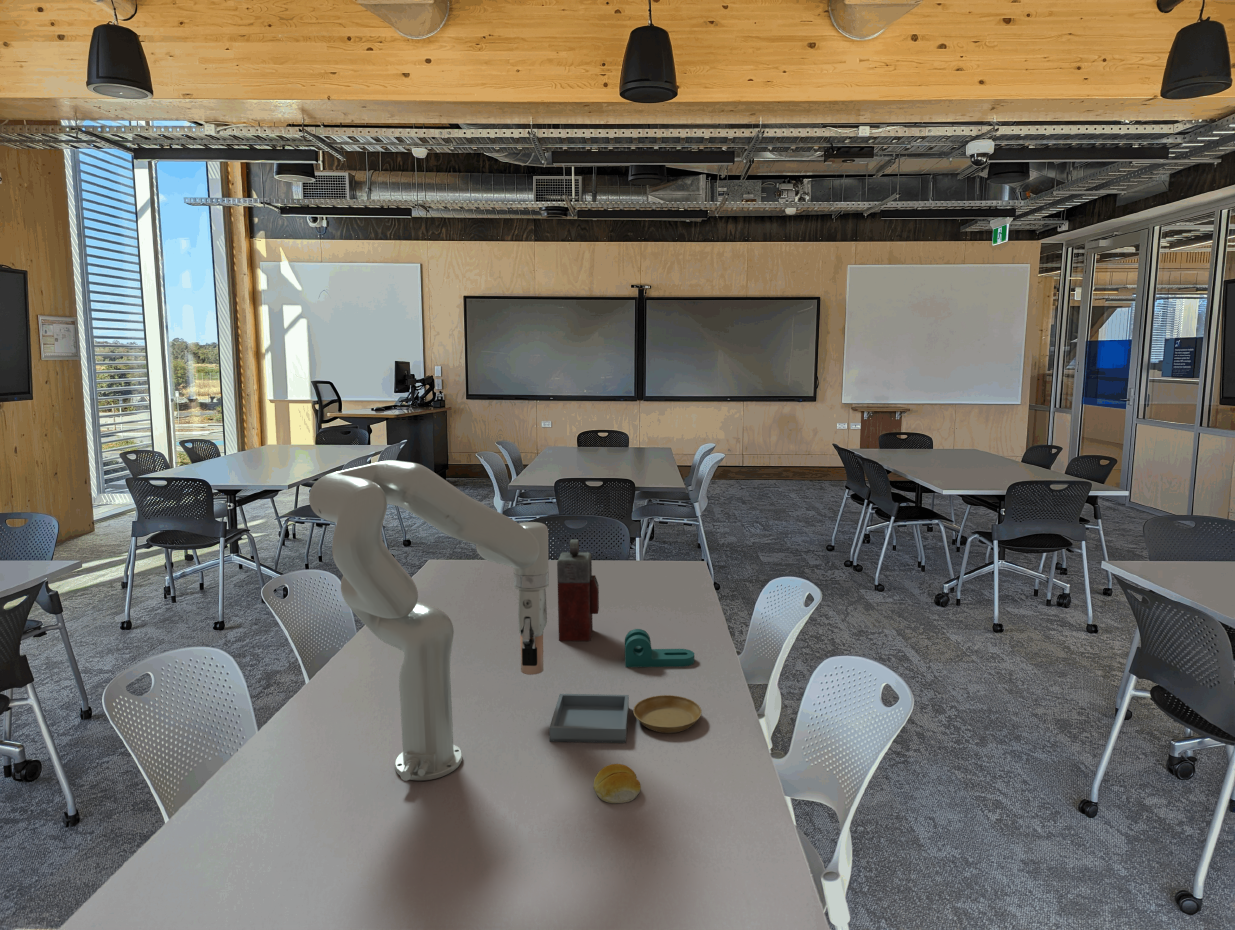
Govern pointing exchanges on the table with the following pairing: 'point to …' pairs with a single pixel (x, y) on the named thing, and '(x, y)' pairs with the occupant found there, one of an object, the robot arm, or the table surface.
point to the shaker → (540, 662)
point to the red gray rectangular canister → (576, 594)
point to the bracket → (653, 653)
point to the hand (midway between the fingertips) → (532, 659)
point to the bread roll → (616, 784)
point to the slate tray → (590, 718)
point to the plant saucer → (667, 713)
